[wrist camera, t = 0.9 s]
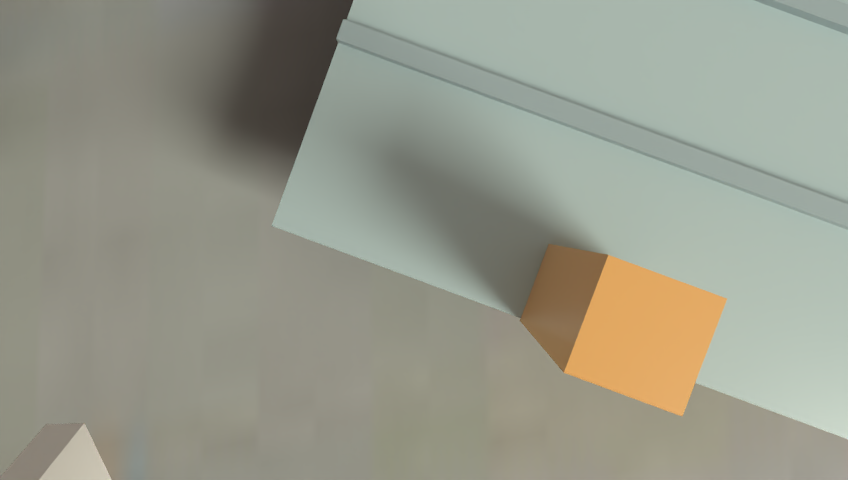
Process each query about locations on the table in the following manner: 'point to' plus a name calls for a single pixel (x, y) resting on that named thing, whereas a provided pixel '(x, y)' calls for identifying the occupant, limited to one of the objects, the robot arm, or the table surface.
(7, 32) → the table surface
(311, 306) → the table surface
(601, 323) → the lid
